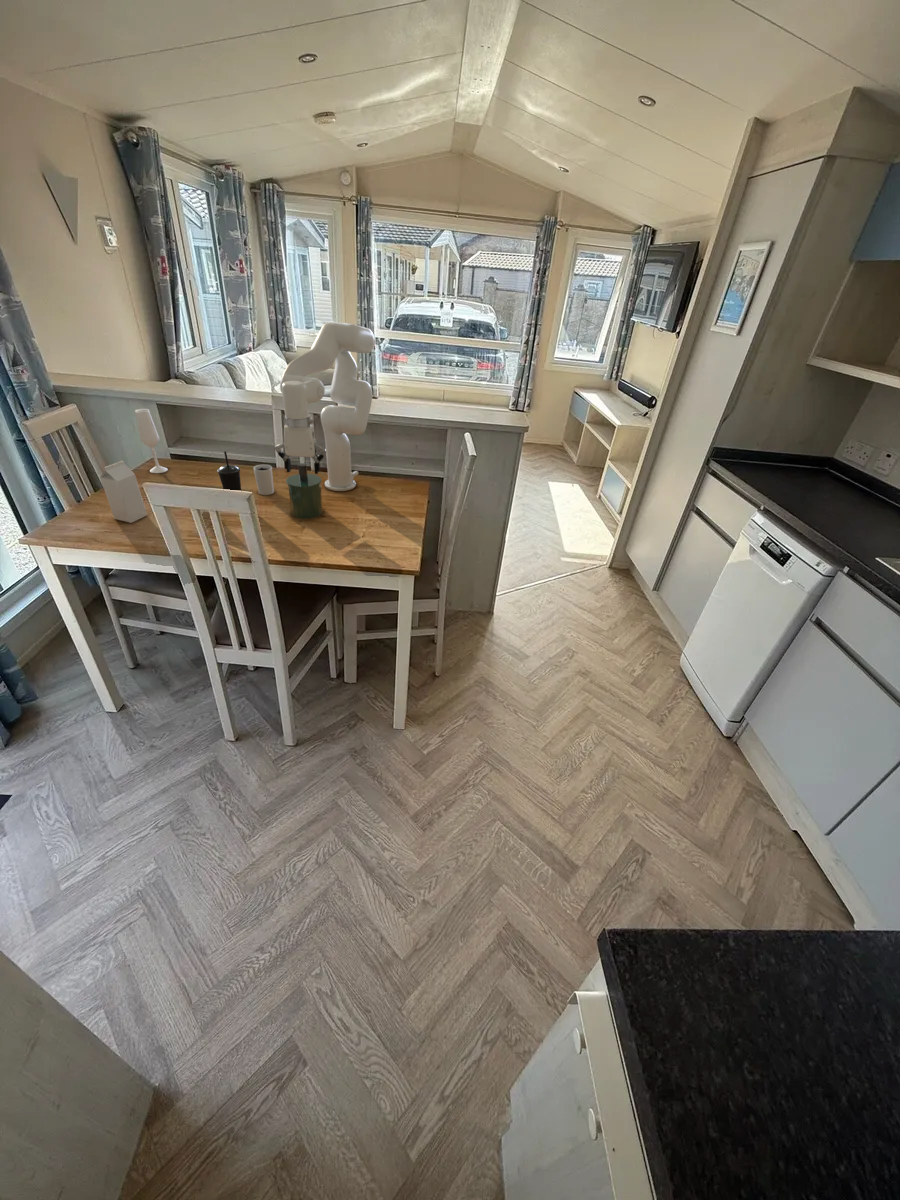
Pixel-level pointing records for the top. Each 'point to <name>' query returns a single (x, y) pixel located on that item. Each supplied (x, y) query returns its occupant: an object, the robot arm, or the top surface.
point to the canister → (306, 501)
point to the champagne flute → (149, 435)
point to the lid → (303, 478)
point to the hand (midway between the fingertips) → (303, 471)
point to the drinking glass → (264, 479)
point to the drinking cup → (229, 476)
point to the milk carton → (123, 492)
